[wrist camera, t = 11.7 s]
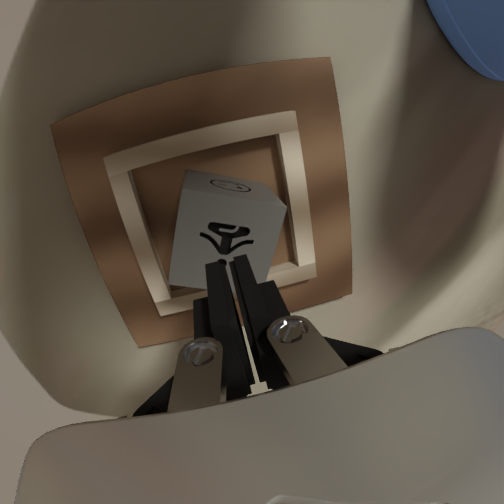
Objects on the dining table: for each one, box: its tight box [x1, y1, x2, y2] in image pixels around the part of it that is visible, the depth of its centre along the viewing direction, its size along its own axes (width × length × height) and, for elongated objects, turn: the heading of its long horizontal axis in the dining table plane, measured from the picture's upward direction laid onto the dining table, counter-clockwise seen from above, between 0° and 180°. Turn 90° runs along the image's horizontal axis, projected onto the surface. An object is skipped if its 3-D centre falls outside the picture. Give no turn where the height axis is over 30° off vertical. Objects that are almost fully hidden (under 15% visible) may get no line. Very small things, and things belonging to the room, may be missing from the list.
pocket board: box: [50, 57, 352, 347], centre depth 19 cm, size 18×18×2 cm
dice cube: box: [168, 169, 287, 293], centre depth 17 cm, size 5×5×5 cm
